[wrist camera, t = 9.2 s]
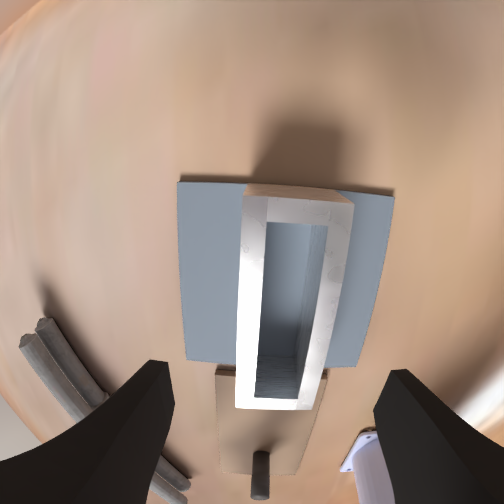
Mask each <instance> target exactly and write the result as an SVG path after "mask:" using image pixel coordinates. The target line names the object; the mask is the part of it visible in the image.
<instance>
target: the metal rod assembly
mask: <svg viewBox="0 0 504 504" xmlns="http://www.w3.org/2000/svg"><path fill="white" fill-rule="evenodd" d="M35 332H36V333H37V334H36V333H34V334H25V335H24V336H22V337H21V340H20V345H19V349H20V350H21V352H22V353H23V355H24V356H25V358H26V359H27V360H28V362H29V363H30V365H31V366H32V368H33V369H34V370H35V372H36V373H37V374H38V376H39V377H40V379H41V380H42V381H43V383H44V384H45V385H46V387H47V388H48V389H49V390H50V392H51V393H52V394H53V395H54V397H55V398H56V399H57V400H58V402H59V403H60V404H61V405H62V406H63V408H64V409H65V410H66V411H67V412H68V413H69V415H70V416H71V417H72V418H73V419H74V420H75V421H76V424H77V423H78V422H79V421H81V420H82V419H84V418H85V417H86V416H87V415H89V414H90V413H91V412H92V411H94V410H95V409H96V408H97V407H99V406H100V405H101V404H102V403H104V402H105V401H106V400H107V399H108V398H109V397H110V396H109V395H108V393H107V392H103V391H102V390H101V389H100V387H99V386H98V385H97V383H96V382H95V381H94V379H93V378H92V377H91V375H90V374H89V373H88V371H87V370H86V369H85V367H84V366H83V364H82V363H81V362H80V360H79V359H78V357H77V356H76V354H75V353H74V351H73V350H72V348H71V347H70V345H69V344H68V342H67V341H66V339H65V338H64V336H63V334H62V333H61V331H60V330H59V328H58V326H57V325H56V323H55V321H54V320H53V318H49V319H48V318H42V319H41V318H40V319H39V321H38V323H37V327H36V328H35ZM43 344H44V345H43ZM45 347H46V348H45ZM47 350H48V351H47ZM49 353H50V354H49ZM51 356H52V357H51ZM53 359H54V360H53ZM58 366H59V367H58ZM61 370H62V371H61ZM63 373H64V374H63ZM66 377H67V378H66ZM69 381H70V382H69ZM72 385H73V386H74V387H73V386H72ZM76 390H77V391H78V392H77V391H76ZM80 395H81V396H82V397H81V396H80ZM84 400H85V401H86V402H87V403H86V402H85V401H84ZM155 472H156V473H155ZM155 472H154V475H153V477H152V480H151V484H150V487H149V489H150V490H152V491H153V492H155V493H156V494H157V495H159V496H160V497H162V498H163V499H164V500H166V501H167V502H169V503H170V504H187V501H188V500H187V498H186V497H185V496H184V495H183V494H181V493H180V492H185V491H187V490H189V488H190V486H191V482H190V481H189V480H188V479H187V478H185V477H184V476H183V475H182V474H181V473H180V472H179V471H178V470H176V469H175V468H174V467H173V466H172V465H171V464H170V463H169V462H168V461H167V460H166V459H165V458H163V457H162V456H161V455H160V458H159V461H158V463H157V466H156V469H155ZM160 476H161V477H162V478H161V477H160ZM165 480H166V481H167V482H168V483H167V482H166V481H165ZM170 484H171V485H172V486H173V487H172V486H171V485H170ZM175 488H176V489H177V490H176V489H175ZM179 491H180V492H179Z"/></svg>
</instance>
